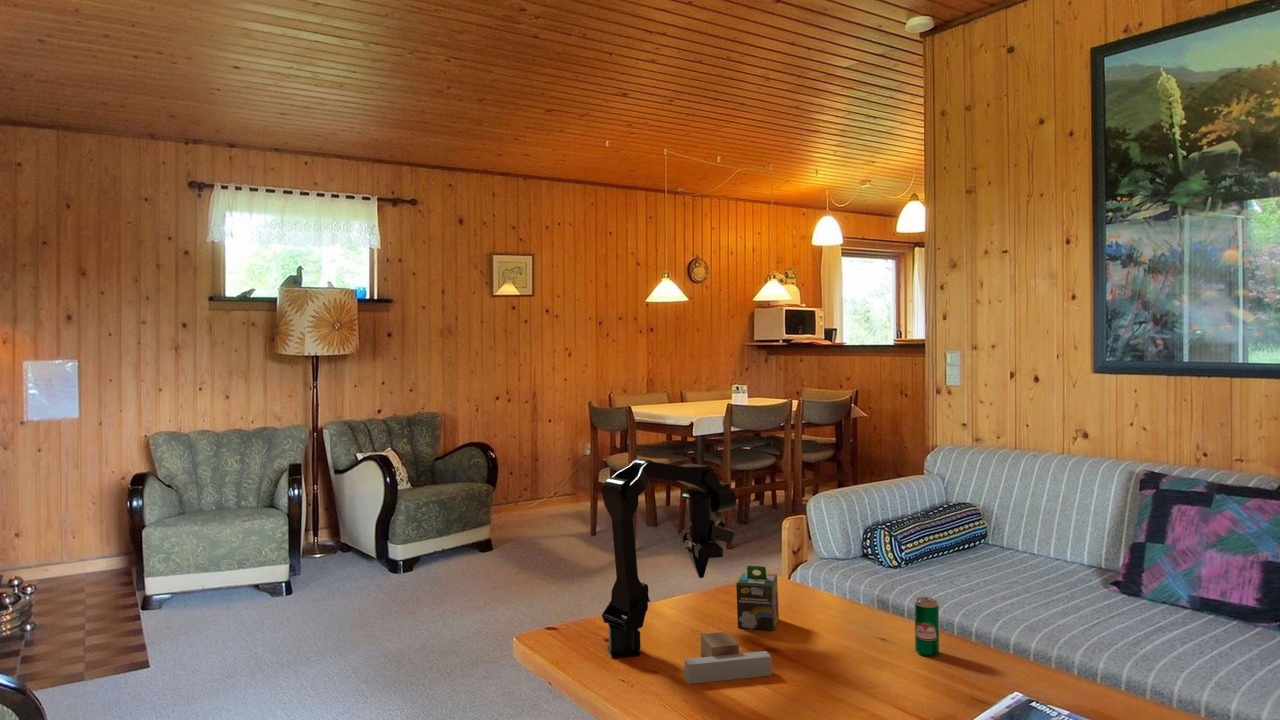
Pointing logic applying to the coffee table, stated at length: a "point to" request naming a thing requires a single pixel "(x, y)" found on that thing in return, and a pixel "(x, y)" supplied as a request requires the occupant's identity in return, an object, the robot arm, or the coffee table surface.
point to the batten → (727, 667)
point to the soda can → (927, 626)
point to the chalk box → (757, 599)
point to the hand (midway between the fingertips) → (701, 577)
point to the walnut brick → (718, 644)
